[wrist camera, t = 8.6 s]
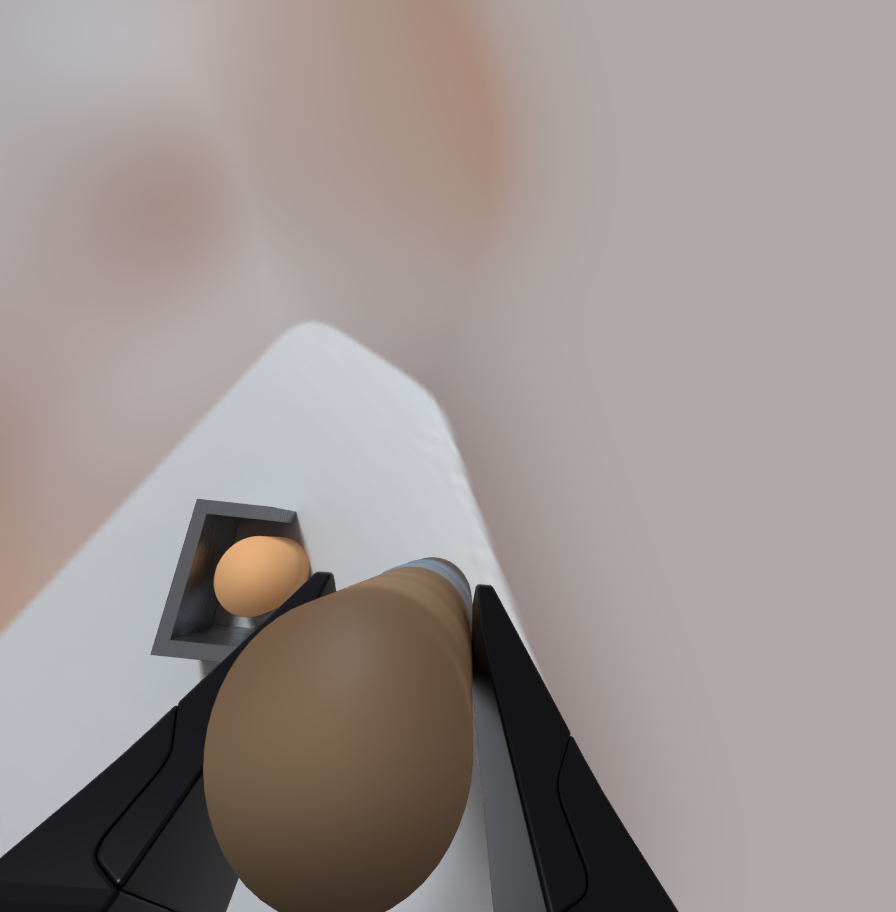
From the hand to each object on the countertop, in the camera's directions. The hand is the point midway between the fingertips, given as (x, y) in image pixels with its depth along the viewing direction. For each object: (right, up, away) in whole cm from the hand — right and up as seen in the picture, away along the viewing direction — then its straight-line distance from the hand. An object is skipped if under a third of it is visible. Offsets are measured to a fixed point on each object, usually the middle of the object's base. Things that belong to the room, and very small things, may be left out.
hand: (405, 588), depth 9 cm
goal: (-11, -3, +11) cm, 16 cm away
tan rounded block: (-9, -3, +11) cm, 15 cm away
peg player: (0, -3, +6) cm, 7 cm away
